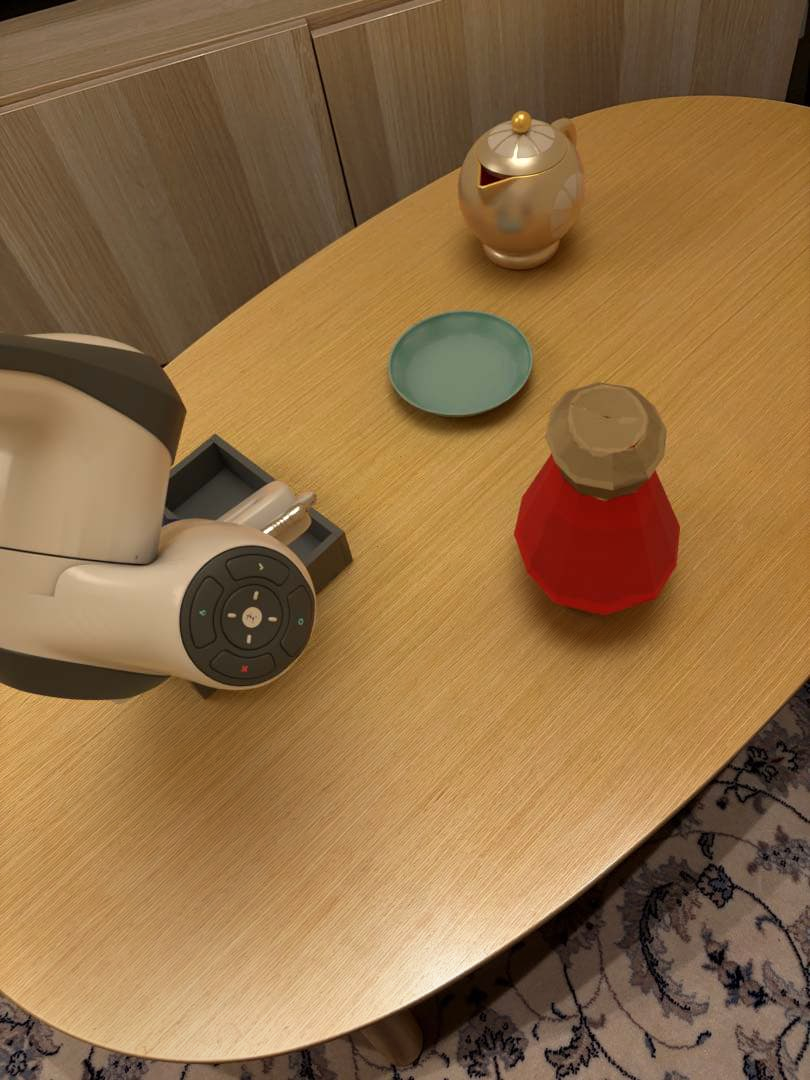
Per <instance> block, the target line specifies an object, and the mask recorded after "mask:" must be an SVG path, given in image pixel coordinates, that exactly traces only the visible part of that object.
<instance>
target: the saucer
mask: <svg viewBox="0 0 810 1080" xmlns="http://www.w3.org/2000/svg"><path fill="white" fill-rule="evenodd" d="M387 361H388V362H387V373H388V377H389V378H388V379H389V380H390V382H391V385H392V387H393V388H394V390H395V392H396V393H397V394H398V395H399V396H400V397H401V398H402V400H404V401H406V402H407V403H408V404H410V405H411V406H413V407H415V408H416V409H418V410H421V411H423V412H425V413H428V414H431V415H435V416H439V417H446V418H468V417H473V416H478V415H482V414H484V413H487V412H490V411H492V410H494V409H496V408H498V407H500V406H502V405H504V403H506V402H508V401H509V400H510V399H512V398H513V397H514V396H515V395H516V394H518V392H519V391H520V390H521V389H522V388H523V387H524V385H525V384H526V382H527V381H528V380H529V377H530V375H531V372H532V369H533V362H534V355H533V349H532V346H531V344H530V342H529V340H528V338H527V336H526V335H525V334H524V333H523V331H522V330H521V329H520V328H519V327H517V326H516V324H513V323H512V322H511V321H509V320H507V319H506V318H504V317H501V316H500V315H496V314H494V313H489V312H486V311H481V310H470V309H458V310H449V311H445V312H444V311H443V312H440V313H435V314H433V315H430V316H428V317H425V318H423V319H421V320H419V321H417V322H416V323H414V324H412V325H411V326H410V327H408V328H407V329H406V330H405V331H404V332H403V333H402V334H401V335H400V336H399V337H398V339H397V340H396V341H395V342H394V344H393V346H392V348H391V350H390V353H389V356H388V360H387Z"/></svg>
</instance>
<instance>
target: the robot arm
mask: <svg viewBox="0 0 810 1080" xmlns="http://www.w3.org/2000/svg"><path fill="white" fill-rule="evenodd" d="M187 412H188V411H187V408H186V406H185V403H184V402H183V400H182V398H181V395H180V394H179V392H178V390H177V388H176V387H175V385H174V383H173V382H172V380H171V378H170V377H169V376H168V374H167V372H166V370H164V368H163V367H162V365H161V364H160V363H159V361H157V359H156V358H155V357H153V356H152V355H149V354H146V353H144V352H143V351H141V350H140V349H138V348H136V347H134V346H131V345H129V344H127V343H124V342H121V341H117V340H115V339H111V338H107V337H102V336H98V335H92V334H83V333H74V332H73V333H71V332H54V333H53V332H52V333H49V332H48V333H35V334H24V335H23V334H17V333H9V332H3V331H0V684H2V685H4V686H6V687H9V688H11V689H13V690H14V689H15V690H18V691H20V692H24V693H28V694H33V695H37V696H43V697H48V698H49V697H50V698H54V699H55V698H56V699H64V700H75V701H112V702H113V703H114V704H115V705H122V704H124V703H127V702H128V701H130V700H131V699H133V698H136V697H137V696H140V695H142V694H145V693H146V692H149V691H150V690H154V689H155V688H157V687H159V686H161V685H163V683H165V682H166V681H167V680H168V679H170V678H172V677H176V678H179V679H183V680H184V679H186V680H190V681H193V682H196V683H199V684H202V685H205V686H209V687H213V688H217V689H218V690H228V691H247V690H252V689H257V688H261V687H263V686H265V685H268V684H270V683H272V682H274V681H276V680H277V679H280V678H281V677H282V676H284V675H285V674H286V673H287V672H288V671H289V670H291V669H292V668H293V666H295V664H296V663H298V661H299V660H300V659H301V657H302V656H303V654H304V653H305V651H306V650H307V648H308V646H309V644H310V641H311V639H312V636H313V633H314V630H315V625H316V622H317V612H318V609H317V608H318V607H317V597H316V596H317V595H316V596H315V591H314V587H313V583H312V580H311V577H310V575H309V573H308V571H307V569H306V567H305V566H304V564H303V563H302V562H301V560H300V559H299V558H298V557H297V556H296V554H295V553H294V552H293V551H291V550H290V549H289V548H288V547H287V545H289V544H290V543H291V542H293V541H294V540H295V539H297V538H298V537H299V536H300V535H301V534H303V533H304V532H305V531H306V530H307V529H308V528H309V526H310V524H311V518H310V516H309V515H308V509H310V508H311V507H314V506H315V505H316V504H317V503H318V502H319V499H318V495H317V494H316V493H314V492H313V491H312V490H311V491H309V490H308V491H304V492H301V493H299V494H296V493H294V491H293V490H292V488H291V487H290V486H289V484H287V483H286V482H283V481H280V480H277V481H274V482H271V483H269V484H267V485H265V486H264V487H262V488H261V489H259V490H258V491H256V492H255V493H254V494H252V495H251V496H249V497H248V498H247V499H245V500H244V501H242V502H241V503H240V504H238V505H237V506H235V507H234V508H233V509H231V510H230V511H228V512H227V513H226V514H224V515H223V516H221V517H220V518H219V519H217V520H216V521H215V520H208V519H197V518H195V519H184V520H179V521H175V522H172V523H170V524H167V525H165V526H163V527H162V520H163V514H164V508H165V501H166V495H167V489H168V483H169V476H170V470H171V469H172V467H174V465H175V461H176V457H177V453H178V449H179V445H180V441H181V436H182V432H183V429H184V424H185V421H186V417H187ZM296 495H297V496H296Z"/></svg>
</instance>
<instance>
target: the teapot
mask: <svg viewBox="0 0 810 1080" xmlns="http://www.w3.org/2000/svg"><path fill="white" fill-rule="evenodd" d="M577 138H578V134H577V130H576V126H575V124H574V123H573V121H572V120H571V119H570V118H567V117H561V118H558V119H556V120H554V121H553V122H552V123H548V122H546V121H542V120H538V119H534V118H532V117H531V115H530V113H529V112H527V111H525V110H519V111H517V112H515V113H514V114H513V115H512V116H511V120H506V121H504V122H501V123H499V124H497V125H495V126H493V127H491V128H490V129H488V130H487V131H486V132H484V133H483V134H482V135H481V136H480V137H479V138H478V139H477V140H476V141H475V142H474V143H473V145H472V146H471V147H470V149H469V151H468V152H467V154H466V156H465V158H464V160H463V162H462V165H461V168H460V171H459V176H458V182H457V183H458V184H457V196H458V197H457V198H458V204H459V209H460V212H461V215H462V218H463V220H464V222H465V224H466V226H467V227H468V229H469V230H470V232H471V233H472V234H473V235H474V236H475V237H476V239H478V241H480V242H481V245H482V250H483V252H484V254H485V256H486V257H487V258H488V259H489V261H490V262H492V263H494V264H495V265H497V266H498V267H502V268H504V269H509V270H518V271H519V270H529V269H533V268H536V267H539V266H541V265H544V264H545V263H547V262H548V261H550V260H551V259H552V258H553V256H554V255H555V254H556V253H557V251H558V249H559V245H560V242H561V239H562V238H563V237H564V236H565V235H566V234H567V233H568V232H569V230H570V229H571V228H572V227H573V225H574V224H575V222H576V220H577V218H578V216H579V214H580V212H581V209H582V207H583V203H584V199H585V193H586V174H585V168H584V164H583V161H582V158H581V155H580V154H579V152H578V149H577V144H578V143H577V141H578V140H577Z"/></svg>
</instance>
